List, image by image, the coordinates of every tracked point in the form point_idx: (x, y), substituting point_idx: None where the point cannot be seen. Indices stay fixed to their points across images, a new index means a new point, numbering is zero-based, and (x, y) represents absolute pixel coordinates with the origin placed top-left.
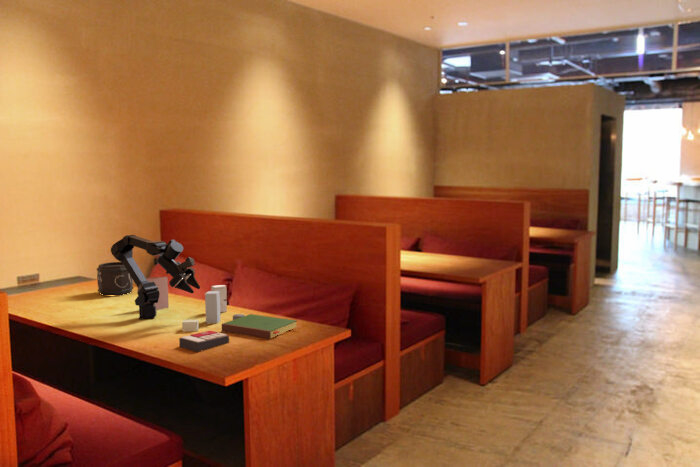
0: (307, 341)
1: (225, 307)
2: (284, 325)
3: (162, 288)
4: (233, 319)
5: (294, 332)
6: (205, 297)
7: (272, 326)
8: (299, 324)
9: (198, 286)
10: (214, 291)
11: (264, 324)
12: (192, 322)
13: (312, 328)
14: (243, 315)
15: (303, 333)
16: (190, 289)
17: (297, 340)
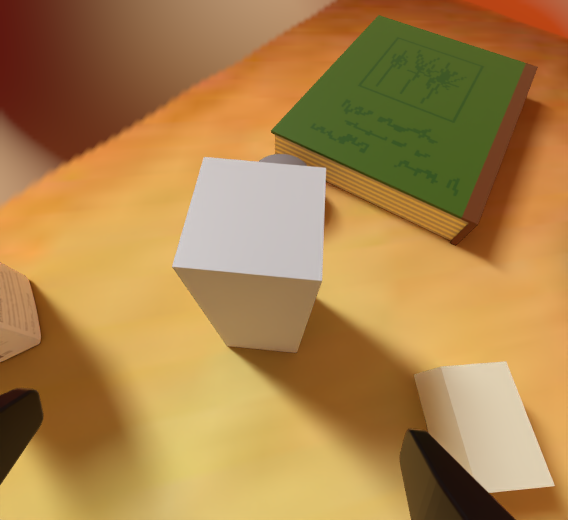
0: (504, 28)
1: (9, 272)
2: (448, 38)
3: None
4: None
5: None
6: (316, 294)
7: (470, 62)
8: (325, 39)
9: (2, 426)
10: (207, 198)
11: (448, 81)
12: (516, 396)
13: (370, 18)
14: (282, 157)
15: None
16: (490, 514)
17: (502, 44)
